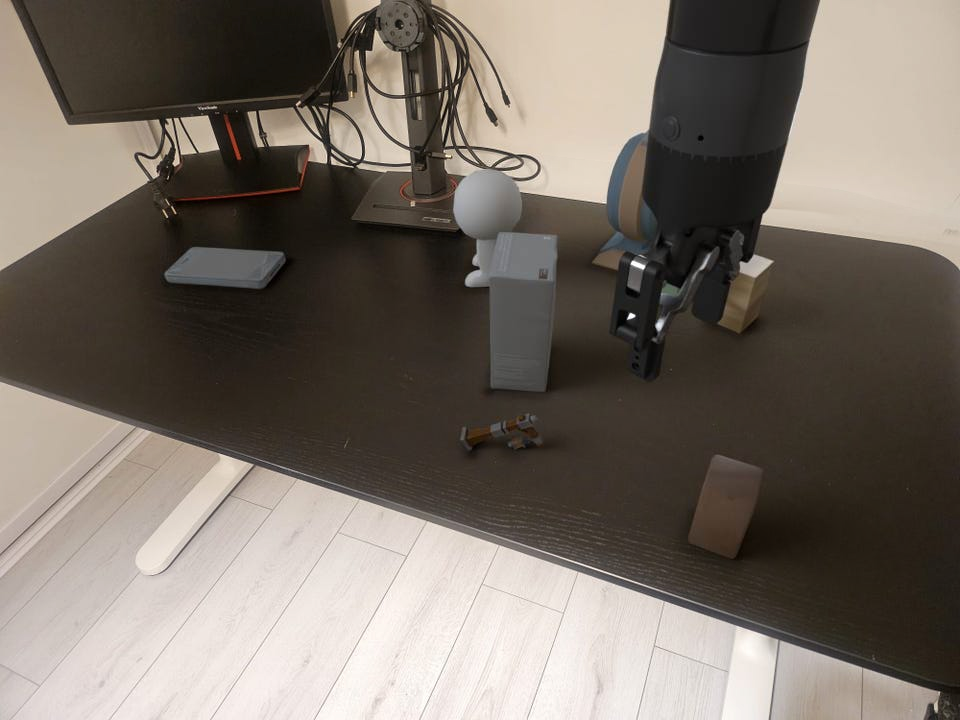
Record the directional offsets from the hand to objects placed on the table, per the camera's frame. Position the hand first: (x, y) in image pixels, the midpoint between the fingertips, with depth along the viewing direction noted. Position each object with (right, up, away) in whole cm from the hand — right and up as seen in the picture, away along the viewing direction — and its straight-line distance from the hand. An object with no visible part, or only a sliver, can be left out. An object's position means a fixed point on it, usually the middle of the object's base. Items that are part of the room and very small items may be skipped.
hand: (675, 345), depth 45 cm
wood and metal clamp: (-12, -10, +18) cm, 24 cm away
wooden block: (+6, -16, +8) cm, 19 cm away
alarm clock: (+9, +15, +44) cm, 47 cm away
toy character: (-13, +11, +42) cm, 45 cm away
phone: (-52, +12, +47) cm, 71 cm away
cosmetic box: (-9, -2, +26) cm, 28 cm away
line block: (+17, +4, +31) cm, 35 cm away
